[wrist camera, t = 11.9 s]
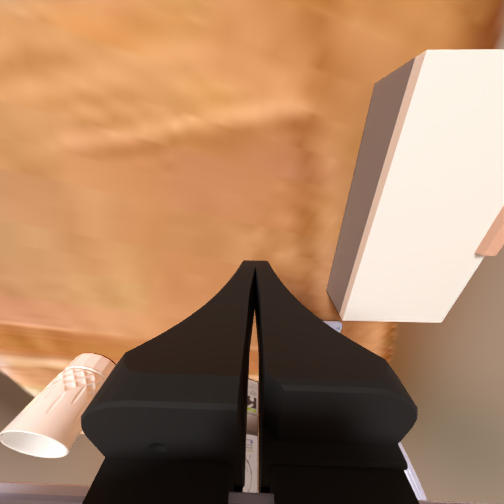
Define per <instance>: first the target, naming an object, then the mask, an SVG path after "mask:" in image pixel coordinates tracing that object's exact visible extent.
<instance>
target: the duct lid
mask: <svg viewBox="0 0 504 504" xmlns="http://www.w3.org/2000/svg"><path fill="white" fill-rule="evenodd" d="M503 244H504V49H502V50H426V51H424V52H423V53H421V54H420V55H418V56H417V57H415V60H414V64H413V67H412V70H411V74H410V77H409V80H408V84H407V87H406V91H405V94H404V97H403V101H402V104H401V107H400V111H399V114H398V118H397V121H396V124H395V128H394V131H393V135H392V138H391V141H390V145H389V148H388V151H387V155H386V158H385V162H384V165H383V168H382V172H381V175H380V179H379V182H378V185H377V189H376V192H375V195H374V199H373V202H372V206H371V209H370V212H369V216H368V219H367V223H366V226H365V229H364V233H363V236H362V239H361V243H360V246H359V250H358V253H357V256H356V260H355V263H354V267H353V270H352V273H351V277H350V280H349V283H348V287H347V290H346V294H345V297H344V300H343V304H342V307H341V311H340V314H339V315H340V317H341V319H342V321H390V322H442V320H443V319H444V318H445V316H446V315H447V313H448V312H449V310H450V308H451V307H452V306H453V304H454V302H455V301H456V299H457V298H458V296H459V295H460V293H461V292H462V290H463V289H464V287H465V286H466V284H467V282H468V281H469V279H470V278H471V276H472V275H473V273H474V272H475V270H476V269H477V267H478V266H479V264H480V263H481V261H482V259H483V258H484V256H486V255H487V256H488V255H489V256H496V255H497V253H498V251H499V250H500V249H501V247H502V246H503Z"/></svg>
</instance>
